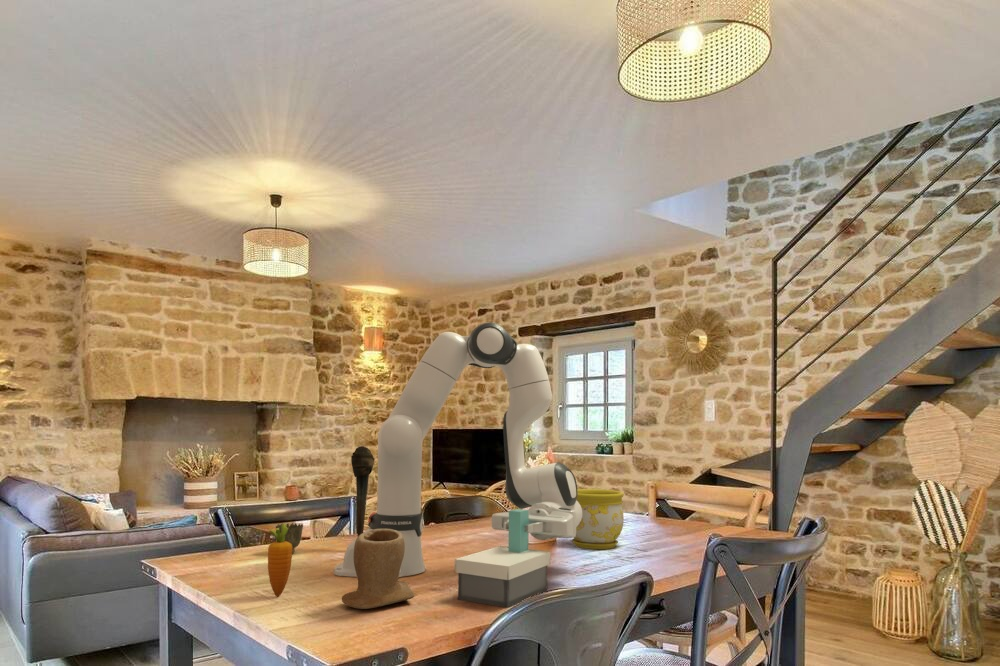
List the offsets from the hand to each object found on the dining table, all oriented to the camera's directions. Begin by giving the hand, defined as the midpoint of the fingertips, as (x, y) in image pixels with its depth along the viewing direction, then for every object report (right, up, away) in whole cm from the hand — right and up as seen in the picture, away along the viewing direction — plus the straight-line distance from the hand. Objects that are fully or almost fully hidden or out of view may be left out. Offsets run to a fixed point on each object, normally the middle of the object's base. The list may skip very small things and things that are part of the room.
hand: (516, 527), depth 154 cm
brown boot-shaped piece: (-28, -11, -16) cm, 34 cm away
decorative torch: (-45, -19, +40) cm, 63 cm away
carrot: (-51, -12, -11) cm, 54 cm away
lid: (-3, -7, -6) cm, 10 cm away
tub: (-3, -13, -7) cm, 15 cm away
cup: (-64, -18, +36) cm, 75 cm away
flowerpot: (+26, -22, +54) cm, 64 cm away
